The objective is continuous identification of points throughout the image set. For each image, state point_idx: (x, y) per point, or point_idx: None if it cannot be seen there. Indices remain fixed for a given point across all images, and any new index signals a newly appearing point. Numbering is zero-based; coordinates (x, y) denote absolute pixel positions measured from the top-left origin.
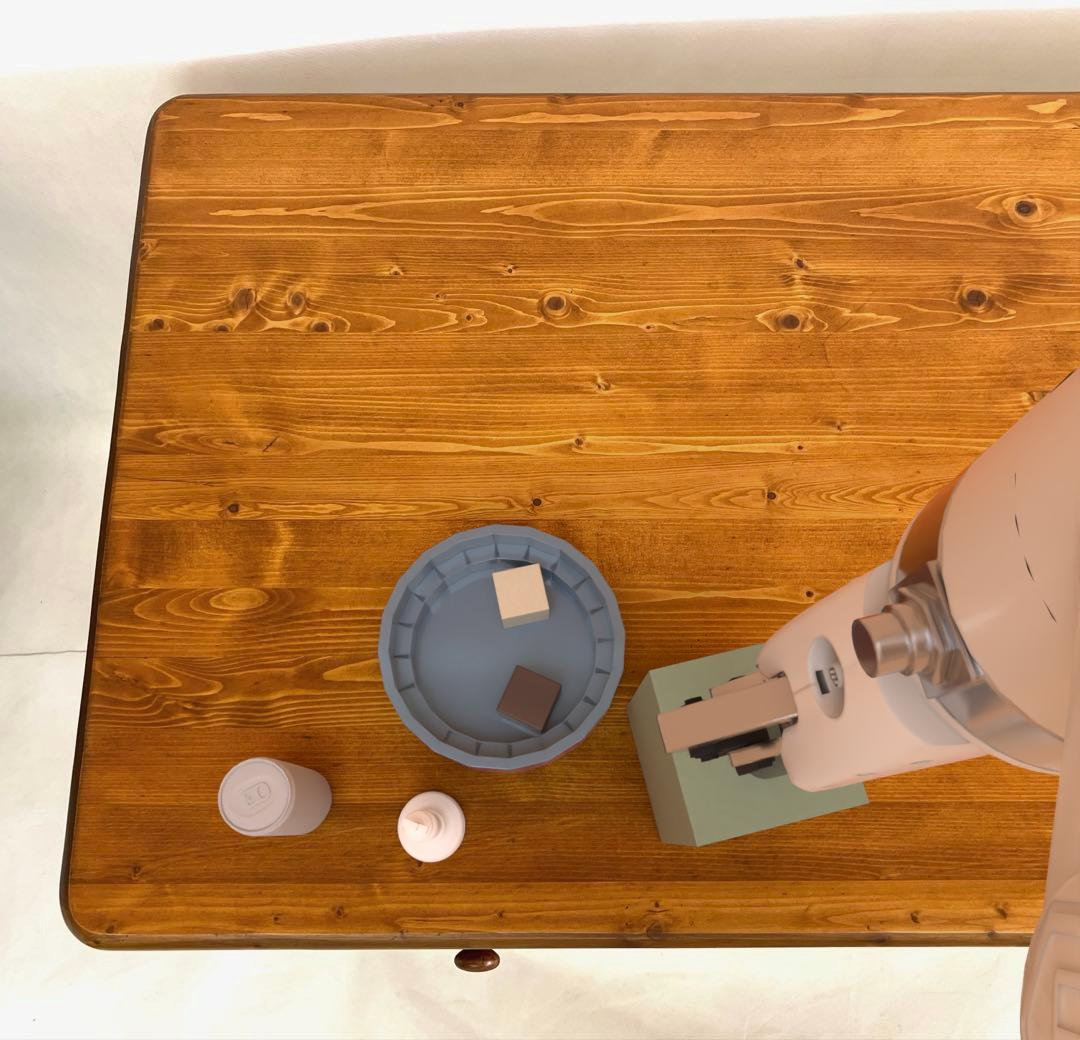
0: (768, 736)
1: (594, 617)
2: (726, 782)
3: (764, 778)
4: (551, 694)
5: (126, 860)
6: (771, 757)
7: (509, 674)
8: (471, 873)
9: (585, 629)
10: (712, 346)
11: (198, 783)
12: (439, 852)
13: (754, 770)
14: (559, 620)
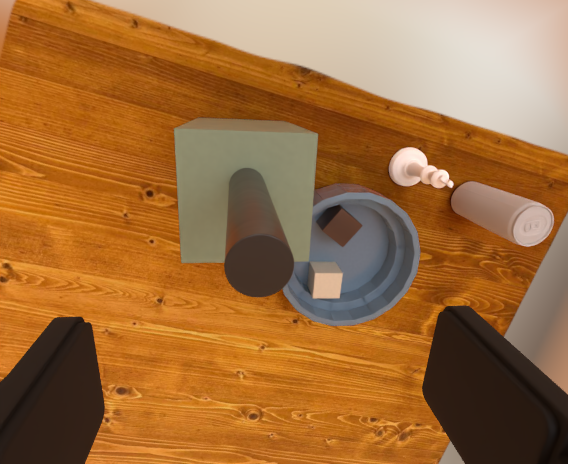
0: (539, 457)
1: None
2: (281, 173)
3: (253, 170)
4: (329, 226)
5: (553, 190)
6: (555, 427)
7: None
8: (395, 135)
9: None
10: (172, 384)
11: None
12: (410, 152)
13: (557, 386)
14: None
